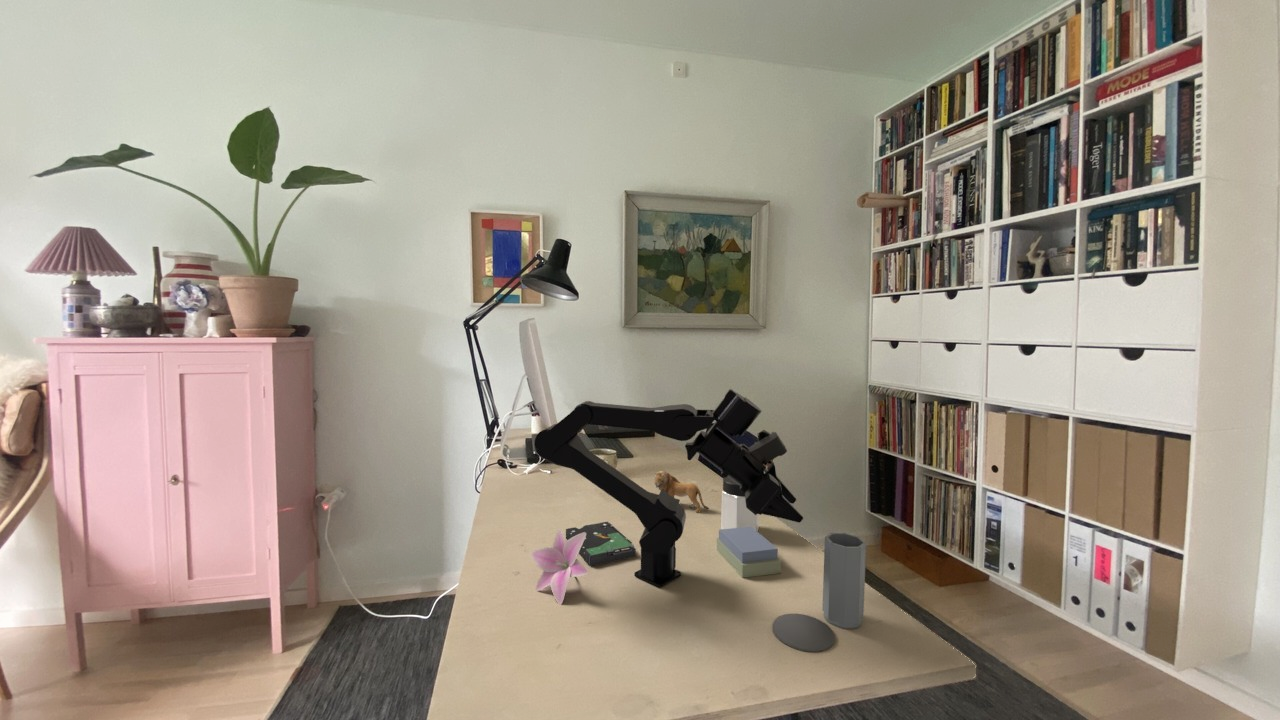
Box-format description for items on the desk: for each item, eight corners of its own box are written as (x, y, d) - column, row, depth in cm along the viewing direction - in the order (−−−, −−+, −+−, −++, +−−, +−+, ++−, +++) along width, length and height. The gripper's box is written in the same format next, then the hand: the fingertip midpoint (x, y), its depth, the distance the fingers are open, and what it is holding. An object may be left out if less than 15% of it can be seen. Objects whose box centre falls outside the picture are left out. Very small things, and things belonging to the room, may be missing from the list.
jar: (766, 532, 114) (768, 481, 113) (744, 542, 108) (745, 488, 108) (736, 520, 120) (737, 472, 120) (713, 529, 115) (714, 478, 114)
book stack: (780, 572, 95) (781, 550, 94) (742, 577, 93) (742, 554, 92) (751, 546, 106) (751, 526, 106) (716, 549, 104) (717, 529, 104)
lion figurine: (651, 507, 129) (651, 473, 129) (657, 500, 134) (657, 467, 134) (706, 514, 124) (707, 479, 124) (711, 507, 129) (711, 473, 129)
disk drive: (564, 541, 109) (589, 569, 96) (564, 528, 109) (589, 555, 96) (607, 532, 114) (637, 558, 101) (607, 520, 114) (637, 544, 101)
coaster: (819, 660, 70) (819, 657, 70) (761, 633, 76) (761, 630, 76) (843, 632, 76) (843, 629, 76) (788, 609, 82) (788, 607, 82)
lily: (530, 578, 94) (514, 545, 89) (585, 545, 98) (572, 512, 93) (553, 628, 84) (536, 595, 80) (613, 589, 89) (600, 554, 84)
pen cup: (854, 634, 76) (857, 551, 75) (817, 619, 80) (820, 540, 79) (866, 618, 80) (869, 539, 79) (831, 604, 84) (834, 529, 83)
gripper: (757, 431, 79) (838, 493, 77) (752, 411, 97) (818, 461, 96) (714, 483, 81) (793, 545, 79) (717, 455, 99) (782, 505, 97)
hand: (798, 510), depth 88 cm, fingers open, 9 cm apart
